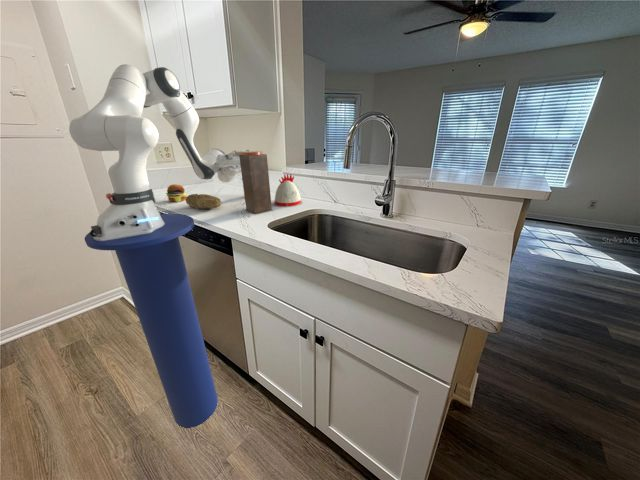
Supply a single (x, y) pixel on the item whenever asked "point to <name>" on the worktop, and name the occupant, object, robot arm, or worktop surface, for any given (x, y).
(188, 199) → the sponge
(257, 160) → the tall brown brick
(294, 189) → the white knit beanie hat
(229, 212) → the worktop surface
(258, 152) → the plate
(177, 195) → the cheeseburger
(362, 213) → the worktop surface
